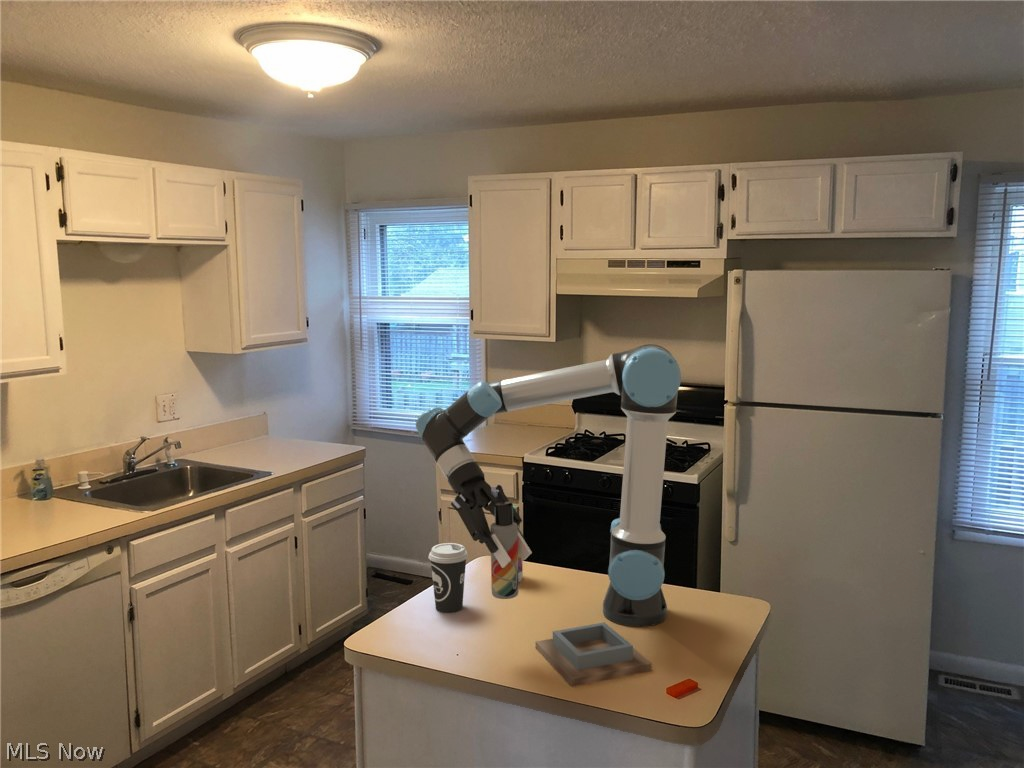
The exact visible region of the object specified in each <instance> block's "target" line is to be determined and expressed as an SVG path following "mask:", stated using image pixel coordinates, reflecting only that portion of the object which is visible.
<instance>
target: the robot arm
mask: <svg viewBox="0 0 1024 768" xmlns="http://www.w3.org/2000/svg"><path fill="white" fill-rule="evenodd" d="M681 382H682V373H681V368H680V365H679V364H678V361H677V360H676V359H675V357H674V356H673V355H672V353H671V352H670V351H669V350H668V349H667V348H666V347H664V346H661V345H658V344H652V343H649V344H647V343H646V344H642V345H640V346H637V347H634V348H631V349H628V350H624V351H620V352H617V353H616V352H615V353H611V354H610V355H609V356H608V358H607V359H603V360H598V361H593V362H589V363H584V364H582V363H581V364H578V365H573V366H569V367H568V366H567V367H562V368H558V369H553V370H548V371H547V370H546V371H542V372H536V373H532V374H526V375H521V376H517V377H516V376H515V377H512V378H511V377H510V378H507V379H502V380H497V381H492V382H491V381H490V382H489V381H484V380H481V381H479V382H477V383H475V385H473V386H472V387H470V388H469V389H468V390H467V391H466V392H465V393H463V394H462V395H461V396H460V397H459V398H458V399H457V400H455V401H454V402H453V403H452V404H450V406H448V407H447V408H446V409H443V407H440V406H439V407H437V406H436V407H435V406H434V407H431V408H429V409H428V410H427V411H424V412H422V413H421V414H420V415H419V416H418V418H417V419H416V420H415V421H416V422H415V428H416V430H417V433H418V434H419V437H420V438H421V441H422V442H423V444H424V445H425V446H426V449H428V451H429V453H430V454H431V456H432V457H433V459H434V460H435V463H436V464H437V466H438V467H439V469H440V471H441V472H442V474H443V476H444V477H445V478H446V479H447V482H448V484H449V486H450V487H451V489H452V491H453V492H454V493H455V495H456V497H455V498H454V499H453V500H452V501H451V503H450V505H451V507H452V508H453V509H454V510H455V511H456V512H457V514H458V515H459V517H460V519H461V521H462V522H463V525H464V526H465V528H466V529H467V531H468V532H469V535H470V537H471V539H472V540H473V541H474V542H479V543H480V544H484V545H485V546H486V547H487V549H488V551H489V552H490V554H491V553H492V554H494V555H495V557H496V559H497V560H498V562H499V564H500V565H501V567H502V568H504V567H505V566H506V565H507V564H508V563H509V562H510V561H511V559H510V557H509V556H508V554H507V552H506V551H505V549H504V548H503V546H502V544H501V543H500V541H499V539H498V538H497V536H496V535H495V534H493V535H492V536H491V528H490V527H489V524H488V520H487V517H486V514H485V512H484V510H486V511H488V512H489V513H491V515H492V516H493V517H494V518H495V504H497V503H500V502H504V501H509V502H511V501H510V500H509V499H508V497H507V495H506V494H505V492H504V489H503V486H502V485H501V484H497V485H496V486H491V485H490V484H489V483H488V482H487V481H486V480H485V473H484V472H483V470H482V468H481V467H480V465H479V464H478V463H477V462H476V458H475V457H474V455H473V454H472V452H471V451H470V450H469V447H468V446H467V445H466V443H465V442H464V440H463V439H464V438H465V437H467V436H469V435H470V434H471V432H473V431H474V430H476V429H477V428H478V427H479V426H481V425H482V424H483V423H484V422H485V421H487V420H488V419H489V418H491V417H492V416H494V415H497V414H502V413H506V412H512V411H517V410H523V409H528V408H534V407H540V406H544V405H550V404H555V403H560V402H566V401H572V400H576V399H582V398H588V397H593V396H600V395H604V394H609V393H615V394H616V395H618V396H621V400H620V401H621V402H620V409H621V410H622V412H623V413H624V414H625V415H626V431H625V441H624V442H625V444H624V457H623V460H624V461H623V471H622V472H623V473H622V484H621V485H622V486H621V497H620V498H621V499H620V500H621V501H620V512H619V517H618V518H615V519H613V520H612V522H610V523H611V525H610V530H609V533H610V552H609V565H608V569H607V576H608V577H609V578H608V579H609V585H608V587H607V590H606V593H605V595H604V599H603V602H602V614H603V616H604V617H605V618H606V619H608V620H609V621H611V622H613V623H616V624H619V625H623V626H631V627H648V626H655V625H658V624H660V623H662V622H664V621H665V620H666V618H667V617H668V605H667V602H666V601H667V600H666V599H665V595H664V592H663V589H662V586H663V585H664V580H665V576H666V572H665V567H664V563H665V550H666V537H667V536H666V534H665V533H664V532H663V530H662V524H661V523H660V521H661V511H662V510H661V509H662V497H663V486H664V474H665V472H664V471H665V459H666V449H667V435H668V423H669V420H670V419H671V418H672V417H673V416H674V415H675V414H676V413H677V403H678V402H677V401H678V391H679V390H680V386H681ZM513 522H514V523H516V524H517V526H519V525H520V524H521V523H522V522H523V520H522V517H521V516H520V514H519V513H518V512H517V509H516V510H515V509H514V507H513ZM519 528H520V527H519ZM519 528H518V553H519V555H520V556H521V558H522V559H523V561H525V560H527V558H528V557H529V556H530V555H532V553H533V552H532V550H531V548H530V547H529V546H528V544H527V542H526V541H525V540H526V539H525V536H524V535H523V534H522V531H521V529H520V530H519Z"/></svg>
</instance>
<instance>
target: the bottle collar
mask: <svg viewBox="0 0 1024 768" xmlns="http://www.w3.org/2000/svg"><path fill="white" fill-rule="evenodd" d="M552 639H553V646H554V647H555V648H556V649H557V650H558V651H559V652H560V653H561V654H562V655H563V656H564V657H565V658H566V659H567V660H568V661H569V662H570V663H571V664H572V665H573V666H574V667H575V668H576V669H577V670H578V671H579V670H584V669H589V668H594V667H599V666H604V665H609V664H614V663H619V662H624V661H629V660H633V648H634V645H633V644H631V642H629V641H628V640H627V639H625V638H624V637H623V636H621V635H620V634H619V633H618V632H617V631H616V630H614V629H613V628H612V627H611V626H610V625H609V624H607V623H606V622H599V623H594V624H593V623H592V624H588V625H587V624H586V625H581V626H577V627H570V628H565V629H558V630H552ZM597 639H603V640H604V641H606V642H607V643H608V644H609V645H610V646H611V647H609V648H603V649H598V650H593V651H587V652H582V653H581V652H580V651H579V650H578V649H577V648H576V647H575V646H573V645H572V644H575V643H580V642H586V641H591V640H597Z"/></svg>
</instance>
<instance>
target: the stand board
mask: <svg viewBox="0 0 1024 768" xmlns="http://www.w3.org/2000/svg"><path fill="white" fill-rule="evenodd" d="M572 645H573V646H575V647H576V648H577V649H578V650H579V651H580V652H581V653H582V652H587V651H593V650H598V649H603V648H609V647H611V646H610V645H609V644H608V643H607V642H606V641H604V640H603V639H597V640H591V641H586V642H580V643H575V644H572ZM535 650H537V651H538V652H539V654H540V655H541V657H543V658H544V659H545V660H546V661H547V663H549V664H550V666H552V667H553V668H554V670H555V671H556V672H557V673H558V674H559V675H560V676H561V677H562V678H563V679H564V680H565V681H566V683H568V685H569V686H570V687H571V688H573V687H577V686H582V685H587V684H592V683H597V682H601V681H607V680H611V679H616V678H621V677H622V678H623V677H625V676H630V675H635V674H641V673H645V672H650V671H653V670H652V669H653V668H652V667H653V664H652V662H651V661H649V660H648V659H647V657H645V656H643V655H642V654H641V653H640V652H638V650H636V648H634V647H633V660H629V661H624V662H619V663H614V664H609V665H604V666H599V667H594V668H589V669H584V670H579V671H578V670H577V669H576V668H575V667H574V666H573V665H572V664H571V663H570V662H569V661H568V660H567V659H566V658H565V657H564V656H563V655H562V654H561V653H560V652H559V651H558V650H557V649H556V648H555V647H554V646H553V638H548V639H543V640H537V641H535Z"/></svg>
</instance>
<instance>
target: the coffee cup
mask: <svg viewBox="0 0 1024 768" xmlns="http://www.w3.org/2000/svg"><path fill="white" fill-rule="evenodd" d="M468 554H469V553H468V552H467V550H466V548H465V546H464V545H463V544H459V543H454V542H447V543H446V542H444V543H439V544H435V545H434V546H432V547H431V551H430V552H429V554H428V558H427V559H429V560H430V566H431V578H432V585H433V593H434V594H433V595H434V605H435V610H436V611H437V612H439V613H444V614H454V613H457V612H460V611H461V610H462V609H463V604H464V592H465V579H466V564H467V559H468V558H469V555H468Z"/></svg>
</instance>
